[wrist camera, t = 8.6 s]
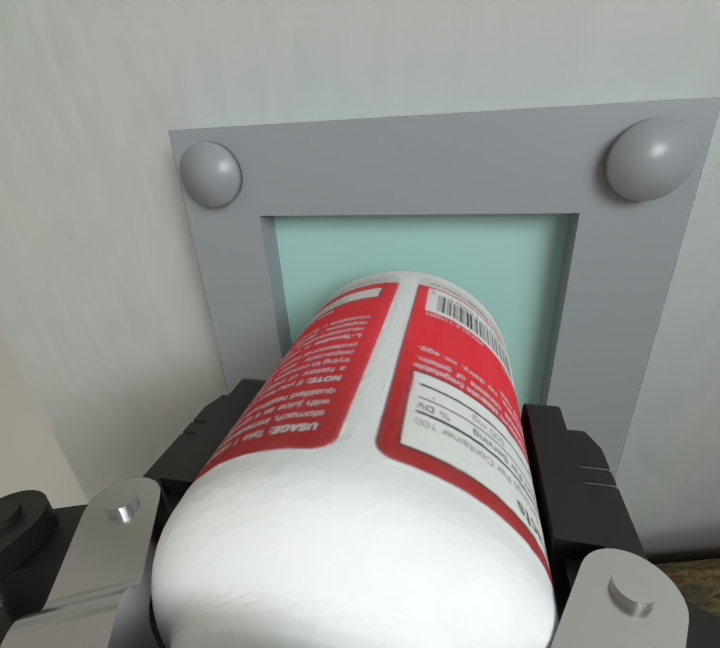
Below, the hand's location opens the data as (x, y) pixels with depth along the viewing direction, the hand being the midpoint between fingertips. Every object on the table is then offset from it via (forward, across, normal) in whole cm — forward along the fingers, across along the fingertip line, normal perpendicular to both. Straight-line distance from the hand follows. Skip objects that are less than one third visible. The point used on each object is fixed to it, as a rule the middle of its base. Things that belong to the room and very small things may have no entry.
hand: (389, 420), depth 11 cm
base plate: (+5, 0, 0) cm, 5 cm away
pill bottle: (+3, 0, 0) cm, 3 cm away
